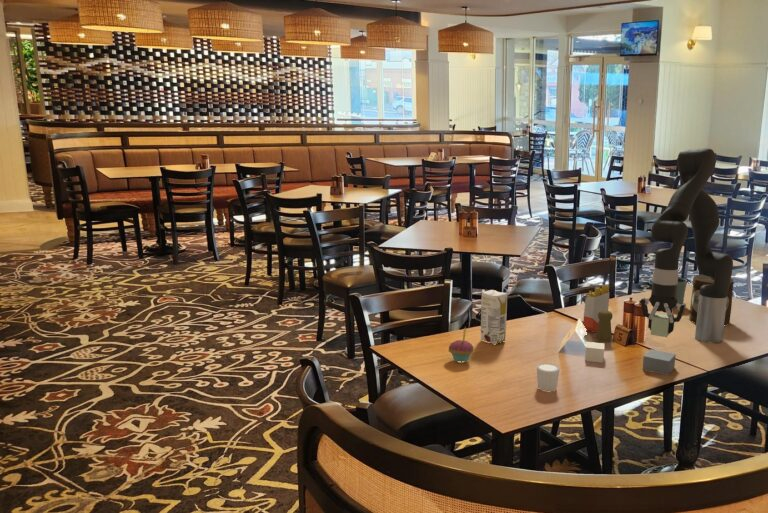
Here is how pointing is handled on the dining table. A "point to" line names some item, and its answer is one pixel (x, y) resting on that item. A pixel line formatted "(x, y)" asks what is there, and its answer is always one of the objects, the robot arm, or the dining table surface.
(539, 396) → the dining table surface
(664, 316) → the sage block
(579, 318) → the dining table surface
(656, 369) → the slate block
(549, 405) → the dining table surface
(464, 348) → the cupcake
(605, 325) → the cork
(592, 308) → the french fries container
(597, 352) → the cream block
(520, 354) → the dining table surface
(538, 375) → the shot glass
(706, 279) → the wooden container
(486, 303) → the juice carton
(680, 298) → the green tapered bucket
